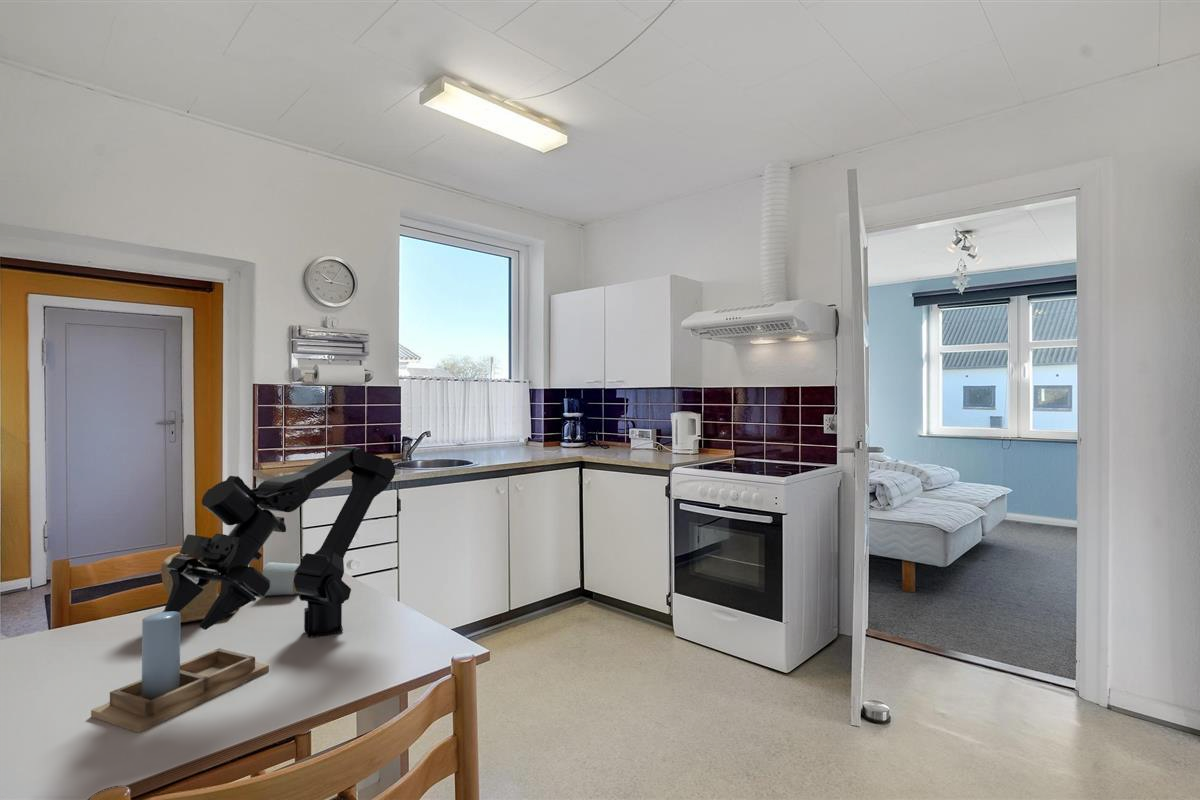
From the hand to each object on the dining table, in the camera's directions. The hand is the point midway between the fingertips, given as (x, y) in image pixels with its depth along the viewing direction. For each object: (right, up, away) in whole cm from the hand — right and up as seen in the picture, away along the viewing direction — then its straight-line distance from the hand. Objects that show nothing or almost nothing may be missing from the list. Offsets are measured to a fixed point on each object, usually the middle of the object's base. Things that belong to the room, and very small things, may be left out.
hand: (182, 624), depth 96 cm
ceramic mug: (-10, -11, +50) cm, 52 cm away
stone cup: (-19, -11, +32) cm, 39 cm away
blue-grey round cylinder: (-1, -10, -3) cm, 11 cm away
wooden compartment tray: (0, -11, +1) cm, 11 cm away
